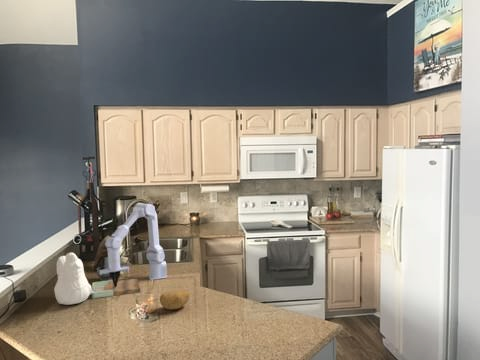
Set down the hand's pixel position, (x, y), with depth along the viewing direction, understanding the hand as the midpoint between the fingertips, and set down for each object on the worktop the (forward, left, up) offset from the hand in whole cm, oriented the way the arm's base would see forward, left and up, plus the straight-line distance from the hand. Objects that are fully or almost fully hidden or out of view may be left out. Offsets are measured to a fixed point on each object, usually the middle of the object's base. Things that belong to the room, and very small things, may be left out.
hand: (115, 286), depth 197 cm
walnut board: (-5, -2, -3) cm, 6 cm away
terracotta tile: (+2, 0, -1) cm, 3 cm away
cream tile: (+8, -1, -2) cm, 8 cm away
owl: (+5, -46, -3) cm, 46 cm away
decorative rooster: (+20, +3, -3) cm, 21 cm away
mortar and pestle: (+4, -23, -3) cm, 23 cm away
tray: (+6, -2, -3) cm, 7 cm away
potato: (-25, +34, -3) cm, 43 cm away
